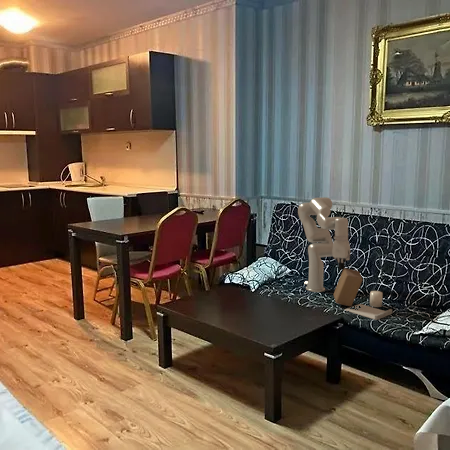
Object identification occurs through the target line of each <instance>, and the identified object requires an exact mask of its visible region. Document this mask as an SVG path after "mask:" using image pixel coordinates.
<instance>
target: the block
mask: <svg viewBox="0 0 450 450" xmlns="http://www.w3.org/2000/svg"><path fill="white" fill-rule="evenodd" d="M363 281H364V280H363V277H362V275H361V272H360V271H358V270H355V269H351V268H346V267H345V268H344V269H342V272H341V273H340V277H339V279H338V282H337V285H336V287H335V289H334V293H333V298H334V301H335V303H336V304H338V305H342V306H345V307H353V303H354V301H355V299H356V296H357V294H358V292H359V289H360V287H361V285H362V282H363Z"/></svg>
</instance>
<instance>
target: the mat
mask: <svg viewBox="0 0 450 450" xmlns="http://www.w3.org/2000/svg"><path fill="white" fill-rule="evenodd" d="M354 306H355V309H356V308H357V307H358V306H360V307H361V308H359V307H358V308H359V309H358V308H357V309H358V310H357V309H356V310H355V309H350V308H351V307H354ZM354 306H353V305H352V306H349V307H347V308H345V309H344V311H345V310H346V312H348V311H349V312H348V313H352V314H355V315H359V316H362V317H366V318H368V319H371V320H375V321H378V320H380V319H383V318H385V317H387V316H390V315H392V314H393V309H392V308H389V309H387V310H382V309H379V308H377V307H372V306H370V305H366V304H362V303H359V304H356V305H354ZM356 306H357V307H356Z"/></svg>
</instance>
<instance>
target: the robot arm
mask: <svg viewBox="0 0 450 450" xmlns="http://www.w3.org/2000/svg"><path fill="white" fill-rule="evenodd" d="M332 208H333V201H332V200H331V199H330V197H314V198H312V199H311V200H310V201H309V202H303V203H301V204H299V205H298V207H297V214H298V215H297V216H298V217H299V220H300V222H301V224H302V226H303V229H304V234H305V237H306V240H307V241H308V242H309V243H311V244H309V245H308V247H307V253H308V280H305V281H304V285H306V286H305V290H307V291H308V292H312V293H321V292H325V290H326V288H325V287H324V265H325V264H324V262H323V260H322V259H321V258H325V257H333V259H334V260H336V261H337V263H338V270H342V271H343V269H344V268H346V267H345V263H346V262H347V261H350V259H351V258H350V257H351V246H350V242H349V221H348V218H346V217H342V216H330V215H331V213H332V212H331V210H332ZM311 216H316V221H315V220H314V218H313V217H311ZM329 216H330V217H329ZM316 222H317V223H316ZM317 224H318V225H317ZM318 226H319V227H318ZM329 230H330V231H331V230H334V236H333V238H332V236H331V232H330V231H329ZM333 239H334V240H333Z"/></svg>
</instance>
